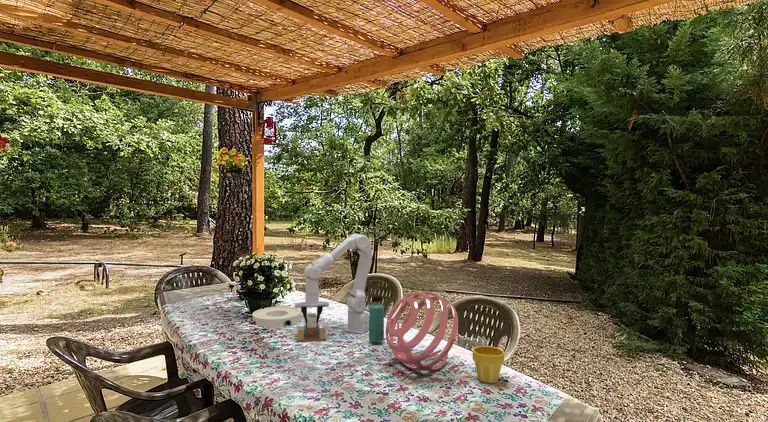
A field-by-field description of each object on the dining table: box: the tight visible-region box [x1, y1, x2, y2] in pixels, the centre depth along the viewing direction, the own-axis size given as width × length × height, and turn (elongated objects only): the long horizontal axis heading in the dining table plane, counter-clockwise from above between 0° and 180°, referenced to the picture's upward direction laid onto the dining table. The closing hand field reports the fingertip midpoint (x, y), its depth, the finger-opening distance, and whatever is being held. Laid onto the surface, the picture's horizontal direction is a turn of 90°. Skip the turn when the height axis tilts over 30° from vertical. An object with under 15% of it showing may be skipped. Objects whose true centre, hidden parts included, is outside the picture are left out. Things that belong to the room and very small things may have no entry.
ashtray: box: [252, 306, 302, 328], centre depth 206 cm, size 23×23×4 cm
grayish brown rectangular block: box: [307, 313, 317, 329], centre depth 182 cm, size 4×4×8 cm
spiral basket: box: [385, 291, 459, 372], centre depth 152 cm, size 28×28×27 cm
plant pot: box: [472, 345, 505, 384], centre depth 141 cm, size 10×10×10 cm
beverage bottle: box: [368, 294, 385, 343], centre depth 175 cm, size 6×7×20 cm
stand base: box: [296, 323, 327, 343], centre depth 183 cm, size 14×12×4 cm
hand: (311, 323), depth 182 cm, fingers open, 4 cm apart
